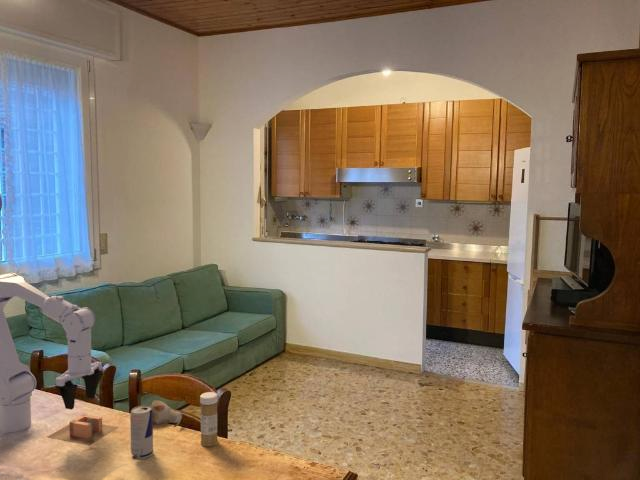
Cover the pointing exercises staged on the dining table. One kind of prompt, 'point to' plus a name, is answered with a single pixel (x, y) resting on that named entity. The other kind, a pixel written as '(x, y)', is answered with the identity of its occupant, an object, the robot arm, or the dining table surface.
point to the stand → (65, 435)
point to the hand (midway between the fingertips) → (80, 403)
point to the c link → (85, 426)
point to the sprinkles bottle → (208, 418)
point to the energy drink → (141, 432)
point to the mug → (164, 413)
